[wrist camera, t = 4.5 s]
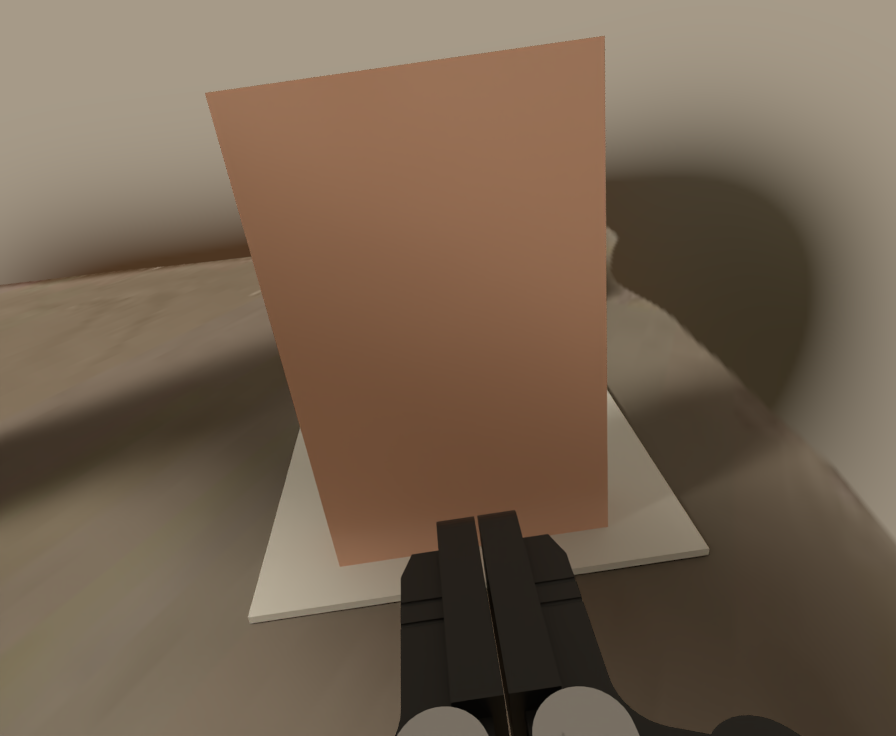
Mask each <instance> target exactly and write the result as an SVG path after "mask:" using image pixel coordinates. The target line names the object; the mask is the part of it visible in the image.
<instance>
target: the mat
mask: <svg viewBox="0 0 896 736" xmlns="http://www.w3.org/2000/svg"><path fill="white" fill-rule="evenodd" d="M607 455H608V527H603V528H596V529H590V530H583V531H576V532H570V533H563V534H556V535H550V536H551V538H552V539H553V540H554V541H555V542H556V543H557V544H558V545H559V546H560V547H561V548H562V549H563V550H564V551H565V552H566V553H567V556H568V559H569V562H570V565H571V568H572V571H573V574H574V575H577V574H584V573H591V572H597V571H604V570H611V569H617V568H624V567H631V566H637V565H644V564H650V563H657V562H664V561H670V560H677V559H684V558H690V557H697V556H704V555H709V547H708V546H707V544H706V543H705V541H704V540H703V538H702V536H701V535H700V533H699V532H698V530H697V529H696V527H695V526H694V524H693V522H692V521H691V519H690V518H689V516H688V515H687V513H686V512H685V510H684V509H683V507H682V505H681V504H680V502H679V501H678V499H677V498H676V496H675V495H674V493H673V491H672V490H671V488H670V487H669V485H668V484H667V482H666V481H665V479H664V477H663V476H662V474H661V473H660V471H659V470H658V468H657V467H656V465H655V464H654V462H653V460H652V459H651V457H650V456H649V454H648V453H647V451H646V450H645V448H644V446H643V445H642V443H641V442H640V440H639V439H638V437H637V436H636V434H635V432H634V431H633V429H632V428H631V426H630V425H629V423H628V422H627V420H626V419H625V417H624V415H623V414H622V412H621V411H620V409H619V408H618V406H617V405H616V403H615V401H614V400H613V398H612V397H611V395H610V394H609V392H608V391H607ZM479 549H480V555H481V561H482V567H483V573H484V579H485V585H486V578H485V571H484V563H483V556H482V548H481V546H479ZM410 557H411V556H409V557H403V558H396V559H389V560H383V561H376V562H369V563H363V564H356V565H349V566H343V567H340V566H339V562H338V559H337V555H336V552H335V548H334V545H333V541H332V538H331V534H330V531H329V527H328V524H327V520H326V517H325V513H324V510H323V506H322V503H321V499H320V496H319V492H318V488H317V485H316V481H315V478H314V474H313V471H312V467H311V464H310V460H309V457H308V453H307V450H306V446H305V443H304V439H303V436H302V432H301V429H299V433H298V437H297V440H296V444H295V448H294V451H293V455H292V459H291V462H290V466H289V470H288V473H287V477H286V481H285V484H284V488H283V492H282V495H281V499H280V502H279V506H278V510H277V513H276V517H275V521H274V524H273V528H272V532H271V535H270V539H269V543H268V546H267V550H266V554H265V557H264V561H263V564H262V568H261V572H260V575H259V579H258V583H257V586H256V590H255V594H254V597H253V601H252V605H251V608H250V612H249V616H248V619H249V621H250V624H251V623H258V622H264V621H271V620H278V619H284V618H291V617H298V616H304V615H311V614H318V613H324V612H331V611H338V610H344V609H351V608H358V607H364V606H371V605H378V604H384V603H391V602H398V601H401V576H402V574H403V572H404V570H405V568H406V566H407V564H408V561H409V559H410ZM486 588H487V585H486Z"/></svg>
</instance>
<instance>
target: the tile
mask: <svg viewBox="0 0 896 736" xmlns="http://www.w3.org/2000/svg"><path fill="white" fill-rule="evenodd" d="M205 94H206V98H207V102H208V105H209V109H210V112H211V116H212V119H213V123H214V126H215V130H216V134H217V137H218V141H219V144H220V148H221V151H222V154H223V158H224V162H225V165H226V169H227V172H228V176H229V179H230V183H231V186H232V189H233V193H234V197H235V200H236V204H237V207H238V211H239V214H240V218H241V221H242V225H243V228H244V232H245V235H246V239H247V242H248V246H249V249H250V253H251V257H252V260H253V264H254V267H255V271H256V274H257V278H258V281H259V285H260V288H261V292H262V295H263V299H264V302H265V306H266V309H267V313H268V316H269V320H270V323H271V327H272V330H273V334H274V337H275V341H276V344H277V348H278V351H279V355H280V358H281V362H282V365H283V369H284V372H285V376H286V380H287V383H288V387H289V390H290V394H291V397H292V401H293V404H294V408H295V411H296V415H297V418H298V422H299V425H300V429H301V432H302V436H303V439H304V443H305V446H306V450H307V453H308V457H309V460H310V464H311V467H312V471H313V474H314V478H315V481H316V485H317V488H318V492H319V496H320V499H321V503H322V506H323V510H324V513H325V517H326V520H327V524H328V527H329V531H330V534H331V538H332V541H333V545H334V548H335V552H336V555H337V559H338V562H339V566H340V567H343V566H349V565H356V564H363V563H369V562H376V561H383V560H389V559H396V558H403V557H409V556H411V555H412V554H418V553H425V552H431V551H438V539H437V527H436V522H438V521H444V520H451V519H458V518H465V517H471V516H474V519H475V525H476V531H477V537H478V543H479V546H481V541H480V533H479V526H478V518H477V515H484V514H490V513H497V512H504V511H511V510H515V511H516V514H517V517H518V521H519V525H520V529H521V533H522V537H523V538H524V537H531V536H538V535H544V534H549V535H556V534H563V533H570V532H576V531H583V530H590V529H596V528H603V527H608V455H607V309H606V173H605V172H606V169H605V167H606V164H605V36H600V37H593V38H586V39H579V40H572V41H565V42H558V43H551V44H544V45H537V46H530V47H524V48H516V49H509V50H502V51H495V52H488V53H481V54H474V55H467V56H460V57H453V58H446V59H439V60H432V61H425V62H418V63H411V64H404V65H398V66H390V67H383V68H376V69H369V70H362V71H355V72H348V73H341V74H335V75H327V76H320V77H313V78H306V79H300V80H293V81H285V82H279V83H272V84H264V85H257V86H251V87H243V88H237V89H229V90H223V91H216V92H208V93H205Z"/></svg>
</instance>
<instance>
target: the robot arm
mask: <svg viewBox="0 0 896 736" xmlns="http://www.w3.org/2000/svg"><path fill="white" fill-rule="evenodd" d="M477 518H478V526H479V533H480V541H481V548H482V556H483V563H484V571H485V578H486V585H487V591H488V597H487V591H486V585H485V579H484V573H483V567H482V561H481V555H480V549H479V543H478V537H477V531H476V525H475V519H474V516H471V517H465V518H458V519H451V520H444V521H438V522H436V527H437V539H438V551H431V552H425V553H418V554H412V555H411V557H410V559H409V561H408V564H407V566H406V568H405V570H404V572H403V574H402V576H401V717H400V722H399V727H398V730H397V732H396V735H395V736H509V731H508V723H507V716H506V708H505V700H506V706H507V712H508V717H509V723H510V729H511V735H512V736H800V735H799V734H797V733H796V732H794V731H793V730H791V729H789V728H788V727H786V726H784V725H782V724H780V723H778V722H775V721H773V720H771V719H767V718H763V717H759V716H751V715H746V716H737V717H732V718H730V719H727V720H725V721H723V722H722V723H721V724H719V725H718V726H717V727H716V728H715V729H714V730H713V732H712V734H706V733H700V732H695V731H689V730H684V729H679V728H673V727H668V726H664V725H661V724H658V723H655V722H653V721H650V720H648V719H646V718H645V717H643V716H641V715H639V714H638V713H637V712H635V711H634V710H632V709H631V708H630V707H629V706H628V705H627V704H626V703H625V702H624V701H623V700H622V699H621V697H620V696H619V695H618V694H617V692H616V690H615V689H614V687H613V685H612V683H611V681H610V678H609V676H608V673H607V670H606V667H605V664H604V661H603V658H602V655H601V652H600V649H599V647H598V644H597V641H596V638H595V635H594V632H593V629H592V626H591V623H590V620H589V617H588V615H587V612H586V609H585V606H584V603H583V602H582V598H581V594H580V591H579V588H578V585H577V582H575V577H574V574H573V571H572V568H571V565H570V562H569V559H568V556H567V553H566V552H565V551H564V550H563V549H562V548H561V547H560V546H559V545H558V544H557V543H556V542H555V541H554V540H553V539H552V538H551V536H550V535H549V534H544V535H538V536H531V537H524V538H523V537H522V533H521V529H520V525H519V521H518V517H517V514H516V511H515V510H511V511H504V512H497V513H490V514H484V515H477ZM488 598H489V603H488ZM489 604H490V609H489ZM490 610H491V615H490ZM491 616H492V621H491ZM492 622H493V627H492ZM493 628H494V633H493ZM494 634H495V639H494ZM495 640H496V645H495ZM496 646H497V651H496ZM497 652H498V657H497ZM498 658H499V663H498ZM499 664H500V669H499ZM500 670H501V675H500ZM501 676H502V681H501ZM502 682H503V687H502ZM503 688H504V693H503ZM504 694H505V700H504Z"/></svg>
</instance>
